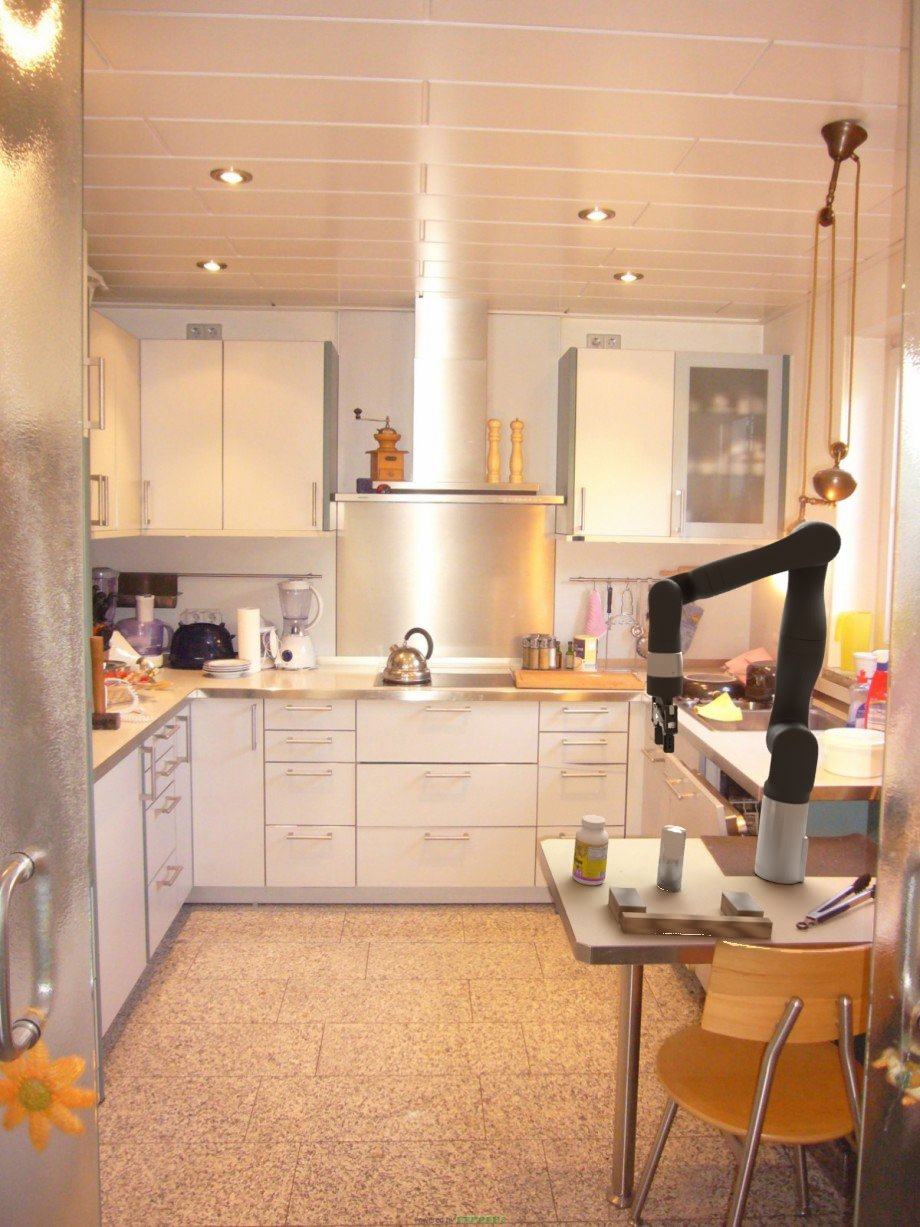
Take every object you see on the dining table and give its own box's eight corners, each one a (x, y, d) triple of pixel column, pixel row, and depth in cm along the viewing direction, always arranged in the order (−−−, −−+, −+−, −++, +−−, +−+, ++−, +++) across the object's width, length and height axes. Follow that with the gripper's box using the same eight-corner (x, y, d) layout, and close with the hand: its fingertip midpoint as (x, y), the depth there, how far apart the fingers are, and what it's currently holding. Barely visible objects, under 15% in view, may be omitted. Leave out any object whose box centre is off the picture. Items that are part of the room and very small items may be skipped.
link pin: (676, 882, 184) (682, 825, 182) (683, 892, 179) (689, 834, 178) (653, 881, 184) (658, 824, 182) (660, 891, 179) (665, 833, 177)
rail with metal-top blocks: (745, 908, 173) (747, 892, 173) (770, 938, 161) (772, 920, 161) (608, 903, 171) (609, 887, 171) (623, 933, 159) (625, 915, 159)
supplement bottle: (569, 872, 185) (574, 812, 184) (600, 873, 186) (605, 813, 184) (575, 886, 179) (581, 823, 177) (608, 887, 179) (614, 825, 178)
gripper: (690, 677, 184) (689, 755, 185) (674, 668, 198) (673, 741, 199) (654, 677, 184) (653, 756, 185) (640, 669, 198) (639, 741, 199)
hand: (664, 748), depth 192 cm, fingers open, 8 cm apart
